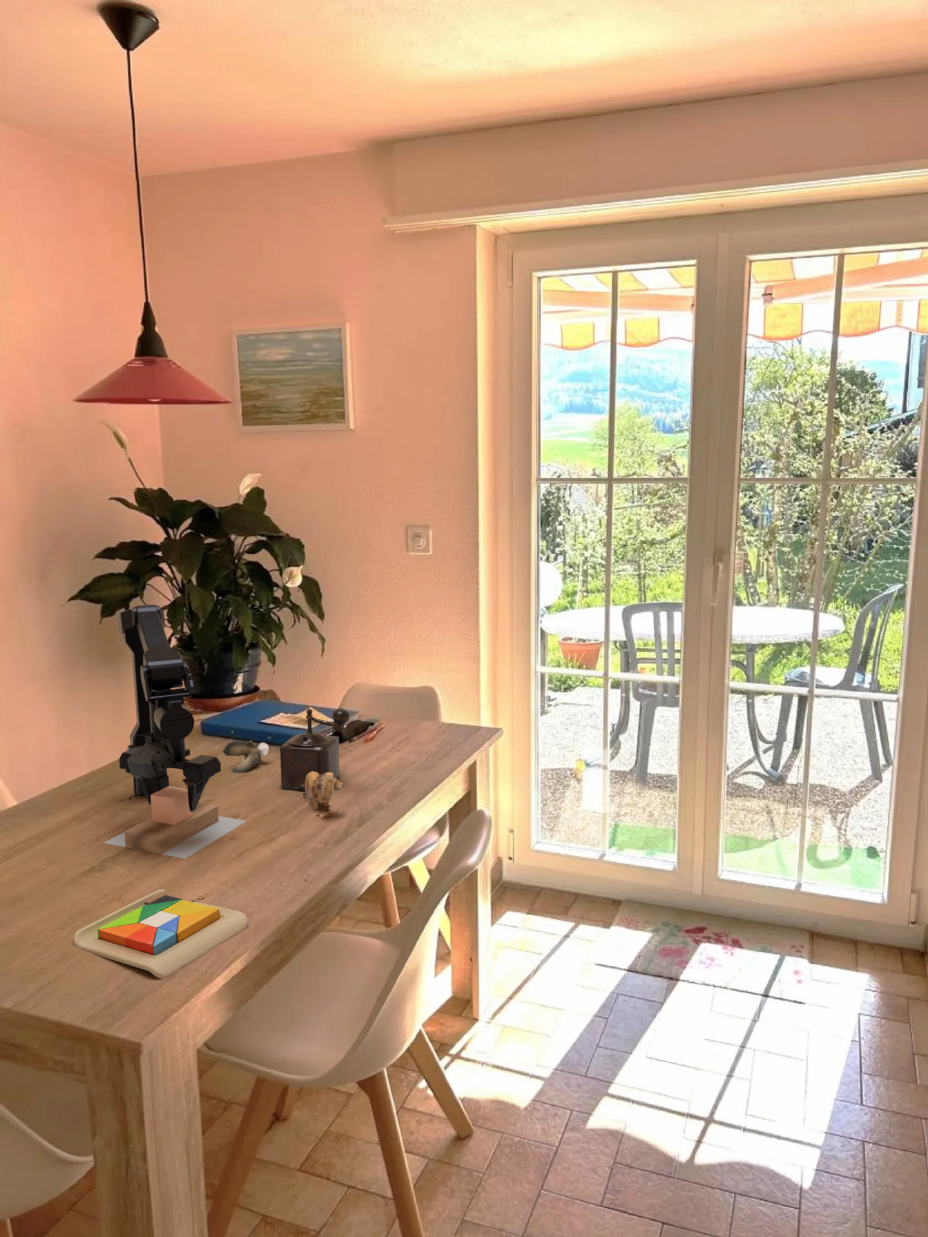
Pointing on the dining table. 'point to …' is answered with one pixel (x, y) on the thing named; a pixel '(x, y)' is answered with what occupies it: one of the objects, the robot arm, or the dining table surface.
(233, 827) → the build board
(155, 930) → the wooden puzzle
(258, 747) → the eagle figurine
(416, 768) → the dining table surface
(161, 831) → the plinth
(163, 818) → the cap block
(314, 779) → the lion figurine
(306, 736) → the manual coffee grinder
